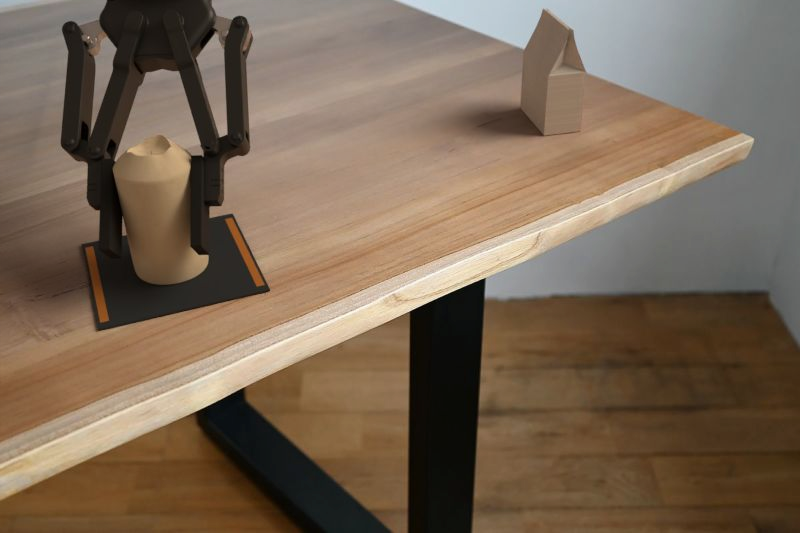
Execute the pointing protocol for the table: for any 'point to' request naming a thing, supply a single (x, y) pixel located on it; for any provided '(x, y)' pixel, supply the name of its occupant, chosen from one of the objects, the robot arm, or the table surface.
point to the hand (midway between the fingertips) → (155, 251)
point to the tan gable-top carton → (553, 78)
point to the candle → (158, 210)
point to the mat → (139, 300)
